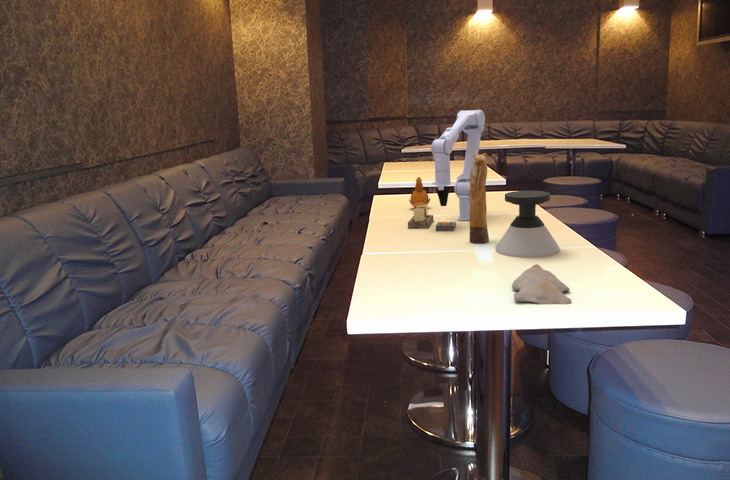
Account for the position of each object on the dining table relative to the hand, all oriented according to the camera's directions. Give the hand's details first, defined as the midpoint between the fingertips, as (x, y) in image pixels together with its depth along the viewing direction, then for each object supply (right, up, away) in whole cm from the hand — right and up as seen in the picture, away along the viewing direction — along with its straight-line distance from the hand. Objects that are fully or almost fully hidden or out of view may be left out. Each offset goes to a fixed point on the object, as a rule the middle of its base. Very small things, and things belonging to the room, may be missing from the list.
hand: (443, 205), depth 238 cm
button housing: (+1, -9, 0) cm, 9 cm away
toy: (-5, +1, +45) cm, 46 cm away
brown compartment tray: (-8, -7, +10) cm, 15 cm away
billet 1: (-7, -5, +14) cm, 16 cm away
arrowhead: (+15, -26, -76) cm, 82 cm away
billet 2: (-9, -7, +6) cm, 13 cm away
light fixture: (+22, -17, -39) cm, 48 cm away
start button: (+1, -8, 0) cm, 8 cm away
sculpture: (+10, -14, -23) cm, 28 cm away
